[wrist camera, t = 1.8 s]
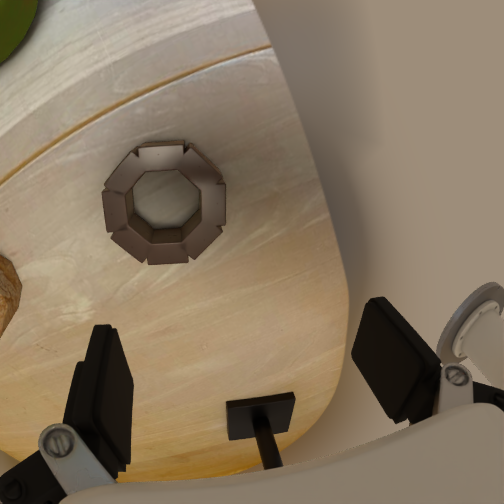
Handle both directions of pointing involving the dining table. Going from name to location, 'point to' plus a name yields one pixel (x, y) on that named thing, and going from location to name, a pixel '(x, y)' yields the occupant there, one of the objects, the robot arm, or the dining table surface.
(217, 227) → the ring
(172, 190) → the dining table surface
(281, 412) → the dark grey peg stand
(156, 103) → the dining table surface
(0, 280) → the bread
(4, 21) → the apple
